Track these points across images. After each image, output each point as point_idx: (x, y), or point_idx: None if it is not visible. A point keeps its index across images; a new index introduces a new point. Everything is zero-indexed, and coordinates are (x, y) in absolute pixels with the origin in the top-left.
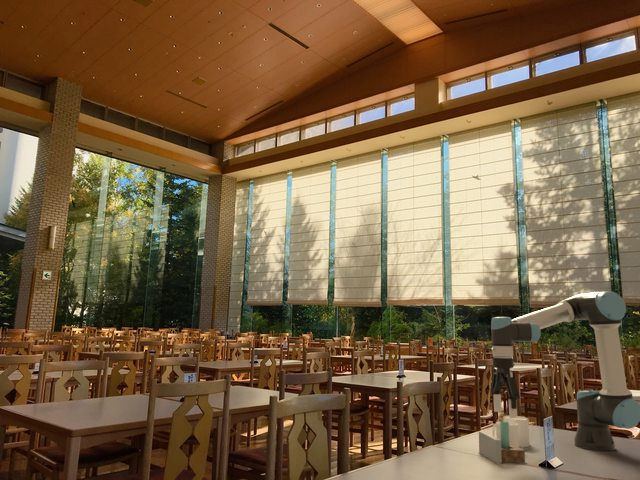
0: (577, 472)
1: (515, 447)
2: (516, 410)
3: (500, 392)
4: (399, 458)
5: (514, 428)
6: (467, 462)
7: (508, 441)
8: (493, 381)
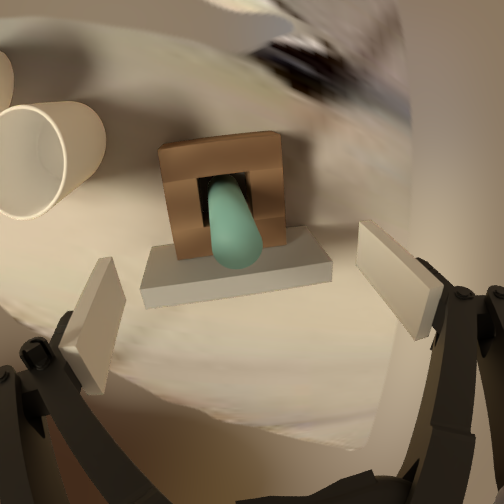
0: (382, 18)
1: (227, 156)
2: (395, 245)
3: (36, 351)
4: (272, 425)
5: (66, 128)
6: (296, 318)
7: (242, 197)
8: (68, 501)
